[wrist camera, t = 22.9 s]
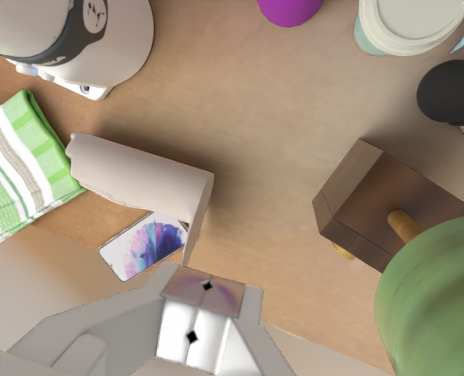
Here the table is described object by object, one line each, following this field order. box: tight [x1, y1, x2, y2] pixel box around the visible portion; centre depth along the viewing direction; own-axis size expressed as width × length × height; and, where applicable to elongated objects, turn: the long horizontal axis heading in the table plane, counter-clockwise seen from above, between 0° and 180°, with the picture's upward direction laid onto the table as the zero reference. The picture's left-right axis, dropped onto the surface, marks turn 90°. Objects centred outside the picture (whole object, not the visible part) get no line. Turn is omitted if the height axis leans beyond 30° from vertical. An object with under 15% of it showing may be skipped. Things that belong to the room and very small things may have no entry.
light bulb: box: [417, 60, 464, 133], centre depth 34 cm, size 6×6×10 cm
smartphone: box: [98, 211, 189, 282], centre depth 48 cm, size 7×1×15 cm
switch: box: [332, 242, 355, 260], centre depth 37 cm, size 3×2×3 cm
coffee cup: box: [353, 0, 464, 56], centre depth 30 cm, size 8×8×12 cm
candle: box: [65, 132, 214, 267], centre depth 42 cm, size 7×14×20 cm
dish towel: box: [0, 89, 88, 243], centre depth 48 cm, size 17×23×4 cm
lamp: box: [312, 139, 464, 376], centre depth 25 cm, size 11×11×33 cm
